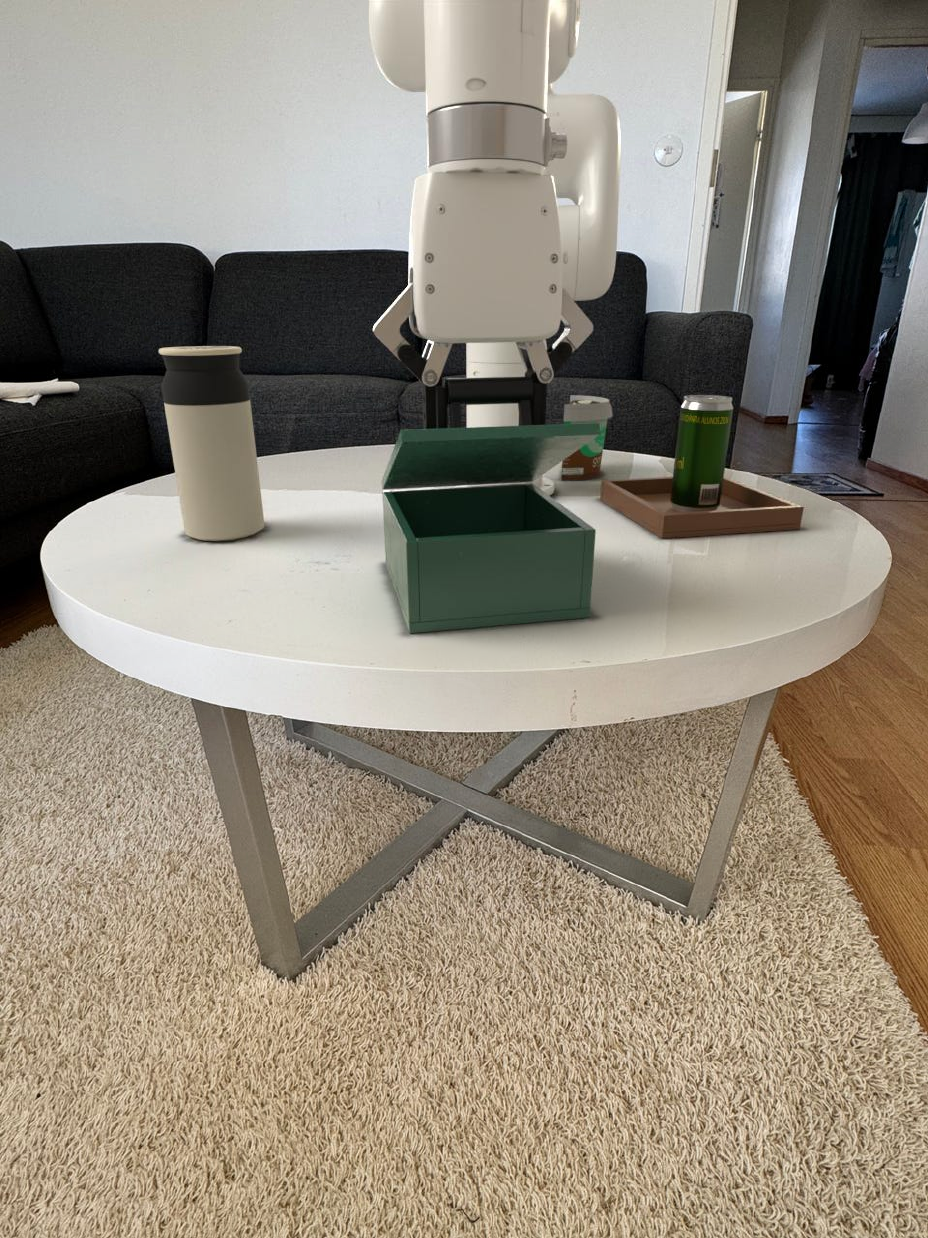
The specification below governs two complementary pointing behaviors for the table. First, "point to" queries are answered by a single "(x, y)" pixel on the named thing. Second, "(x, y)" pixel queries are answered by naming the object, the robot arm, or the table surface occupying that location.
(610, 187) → the robot arm
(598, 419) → the food container
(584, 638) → the table surface
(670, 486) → the tray
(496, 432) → the lid
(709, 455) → the beer can
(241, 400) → the travel mug
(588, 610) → the green box
